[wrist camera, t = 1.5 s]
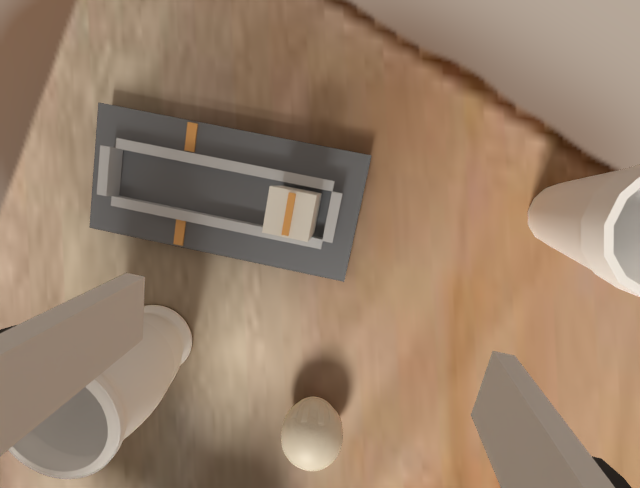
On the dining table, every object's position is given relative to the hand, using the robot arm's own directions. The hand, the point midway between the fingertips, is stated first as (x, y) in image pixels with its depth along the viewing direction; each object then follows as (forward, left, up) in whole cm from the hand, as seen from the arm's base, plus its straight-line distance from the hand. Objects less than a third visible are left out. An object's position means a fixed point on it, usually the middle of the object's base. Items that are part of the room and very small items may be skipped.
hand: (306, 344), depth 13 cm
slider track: (+3, +12, -25) cm, 28 cm away
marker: (+3, +16, -23) cm, 28 cm away
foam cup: (+7, -22, -25) cm, 34 cm away
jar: (-16, +18, -25) cm, 35 cm away
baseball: (-21, -2, -25) cm, 33 cm away
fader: (+3, +4, -23) cm, 23 cm away
